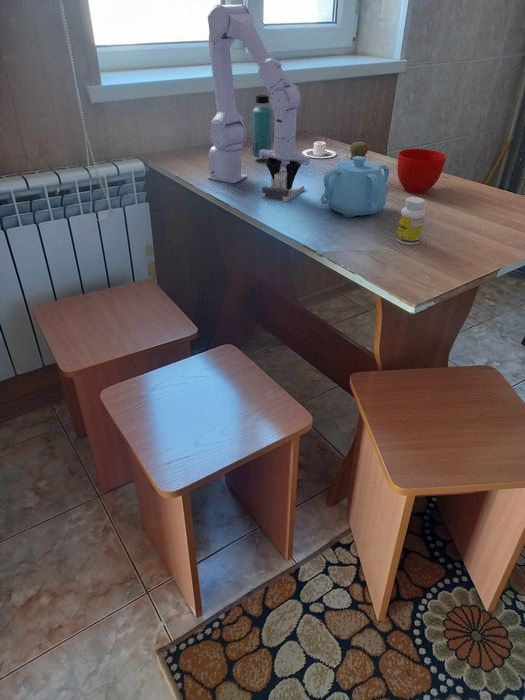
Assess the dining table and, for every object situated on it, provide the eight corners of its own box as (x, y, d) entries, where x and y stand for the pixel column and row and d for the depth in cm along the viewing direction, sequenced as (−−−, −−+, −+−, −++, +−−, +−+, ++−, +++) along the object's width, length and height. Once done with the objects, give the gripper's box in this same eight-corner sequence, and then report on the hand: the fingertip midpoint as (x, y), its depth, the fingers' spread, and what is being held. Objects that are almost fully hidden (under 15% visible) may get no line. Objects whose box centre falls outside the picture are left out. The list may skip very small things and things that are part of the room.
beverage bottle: (274, 159, 174) (276, 94, 162) (264, 164, 169) (265, 97, 158) (258, 156, 177) (259, 92, 165) (248, 160, 172) (248, 95, 161)
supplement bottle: (393, 236, 121) (400, 195, 116) (415, 236, 122) (423, 195, 116) (400, 245, 117) (407, 203, 111) (423, 245, 117) (432, 203, 112)
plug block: (273, 194, 144) (274, 173, 141) (280, 189, 148) (281, 169, 144) (284, 196, 143) (285, 175, 140) (291, 191, 146) (292, 171, 143)
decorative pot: (311, 213, 133) (315, 159, 125) (336, 196, 144) (341, 145, 136) (371, 226, 126) (379, 170, 119) (392, 206, 138) (400, 154, 130)
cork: (364, 184, 154) (369, 145, 147) (344, 182, 155) (348, 144, 148) (365, 178, 158) (370, 140, 152) (346, 176, 159) (350, 139, 153)
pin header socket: (261, 196, 143) (261, 180, 140) (279, 185, 151) (280, 169, 149) (286, 201, 140) (287, 185, 137) (304, 189, 149) (305, 173, 146)
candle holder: (302, 150, 186) (303, 137, 183) (336, 151, 185) (337, 139, 182) (301, 159, 176) (301, 146, 174) (336, 160, 175) (337, 147, 173)
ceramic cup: (452, 187, 152) (460, 152, 147) (424, 200, 142) (432, 163, 137) (413, 177, 160) (419, 144, 154) (384, 189, 149) (390, 154, 144)
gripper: (315, 136, 137) (312, 187, 145) (267, 130, 142) (266, 179, 150) (305, 142, 132) (302, 194, 140) (255, 135, 137) (255, 186, 145)
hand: (282, 187), depth 144 cm, fingers closed on plug block, 3 cm apart
